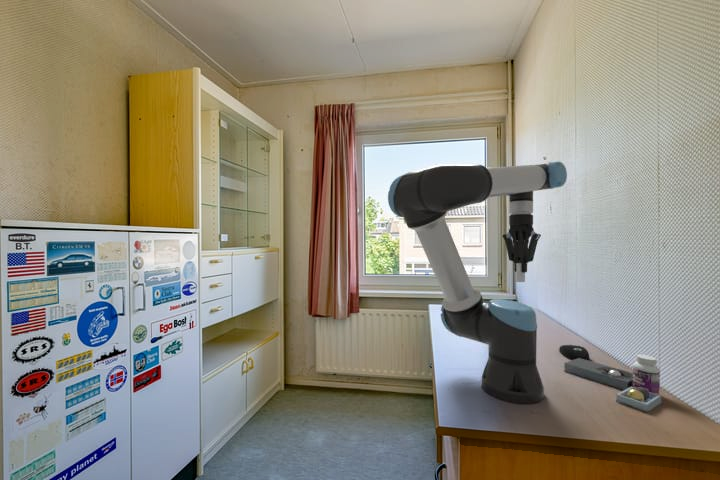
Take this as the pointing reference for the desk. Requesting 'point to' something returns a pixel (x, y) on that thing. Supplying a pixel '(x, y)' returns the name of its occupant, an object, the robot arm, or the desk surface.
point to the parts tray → (644, 406)
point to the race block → (599, 373)
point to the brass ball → (635, 395)
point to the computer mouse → (574, 352)
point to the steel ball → (614, 373)
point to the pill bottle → (646, 374)
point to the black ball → (643, 392)
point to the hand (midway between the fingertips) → (520, 281)
